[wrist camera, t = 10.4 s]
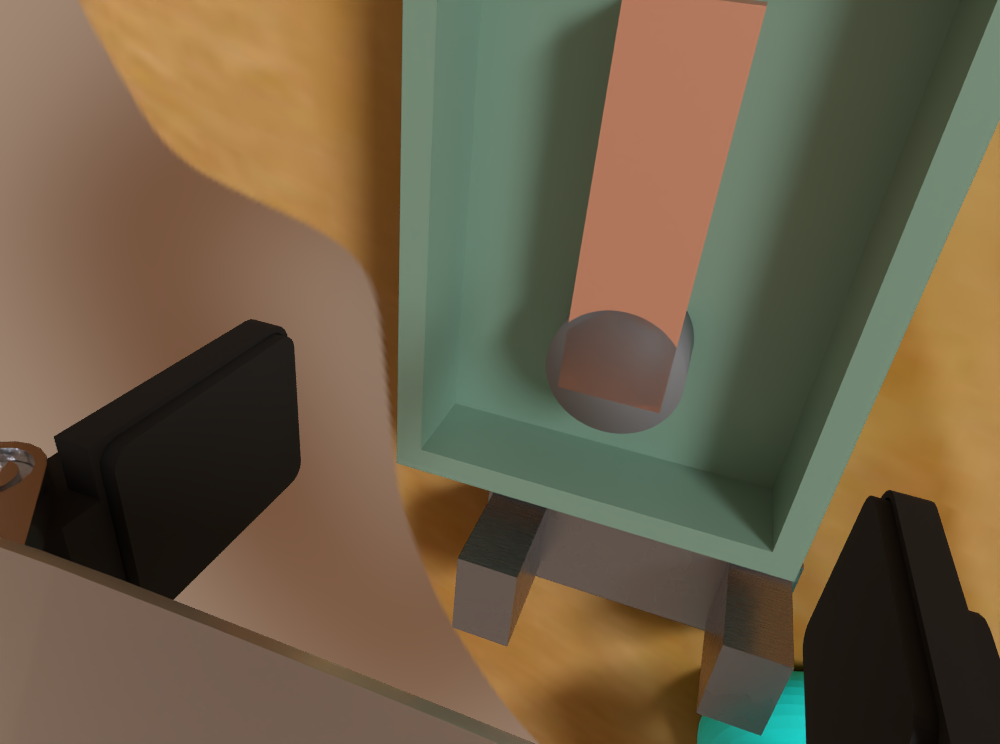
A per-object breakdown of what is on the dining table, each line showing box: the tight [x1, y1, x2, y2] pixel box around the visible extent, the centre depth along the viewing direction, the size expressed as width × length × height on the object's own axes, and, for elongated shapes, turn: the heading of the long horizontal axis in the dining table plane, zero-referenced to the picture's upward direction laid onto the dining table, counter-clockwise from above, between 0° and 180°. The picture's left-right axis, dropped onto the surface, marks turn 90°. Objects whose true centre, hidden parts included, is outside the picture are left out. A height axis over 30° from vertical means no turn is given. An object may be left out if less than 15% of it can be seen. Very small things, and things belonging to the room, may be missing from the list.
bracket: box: [452, 491, 804, 736], centre depth 29 cm, size 13×5×6 cm, turn 85°
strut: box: [546, 0, 768, 434], centre depth 22 cm, size 13×5×3 cm, turn 175°
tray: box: [397, 0, 1000, 582], centre depth 22 cm, size 21×15×4 cm
